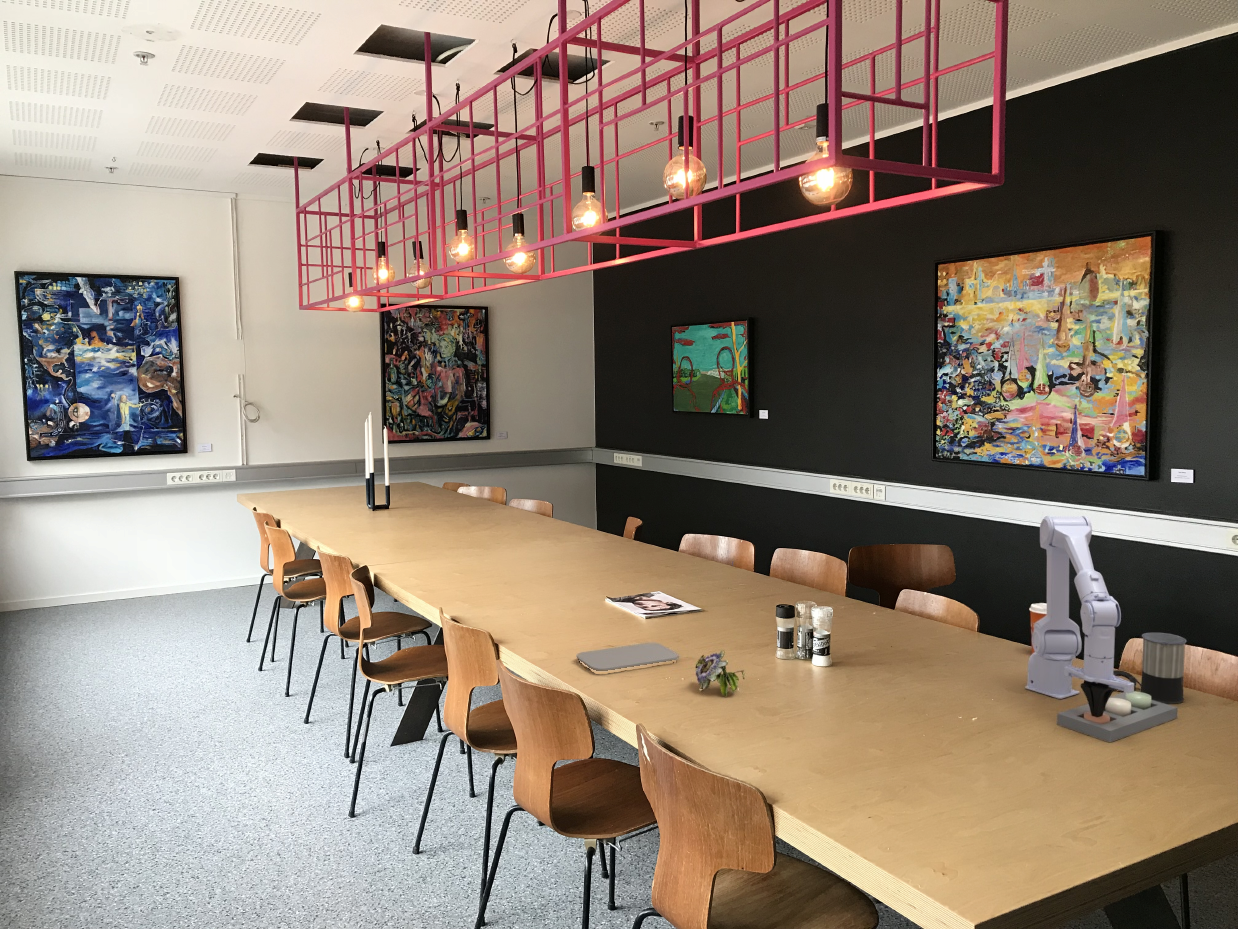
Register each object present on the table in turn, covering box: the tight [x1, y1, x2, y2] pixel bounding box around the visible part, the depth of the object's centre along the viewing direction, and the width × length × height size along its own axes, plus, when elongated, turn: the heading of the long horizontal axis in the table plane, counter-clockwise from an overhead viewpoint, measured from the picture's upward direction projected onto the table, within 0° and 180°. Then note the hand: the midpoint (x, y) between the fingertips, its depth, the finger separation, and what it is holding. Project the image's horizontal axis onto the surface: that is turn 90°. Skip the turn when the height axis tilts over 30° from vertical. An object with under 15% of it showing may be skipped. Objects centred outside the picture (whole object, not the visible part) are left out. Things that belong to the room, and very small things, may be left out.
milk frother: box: [1113, 632, 1187, 705], centre depth 217 cm, size 14×16×15 cm
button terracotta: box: [1084, 711, 1110, 724], centre depth 196 cm, size 5×5×3 cm
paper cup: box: [1029, 602, 1055, 655], centre depth 249 cm, size 8×8×14 cm
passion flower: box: [695, 649, 746, 697], centre depth 224 cm, size 11×11×12 cm
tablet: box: [576, 642, 680, 671], centre depth 248 cm, size 16×26×2 cm, turn 115°
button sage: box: [1126, 690, 1151, 710], centre depth 204 cm, size 5×5×3 cm
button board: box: [1056, 691, 1179, 743], centre depth 200 cm, size 12×26×2 cm, turn 121°
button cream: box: [1105, 698, 1131, 717], centre depth 200 cm, size 5×5×3 cm
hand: (1096, 716), depth 196 cm, fingers closed, pressing on button terracotta
